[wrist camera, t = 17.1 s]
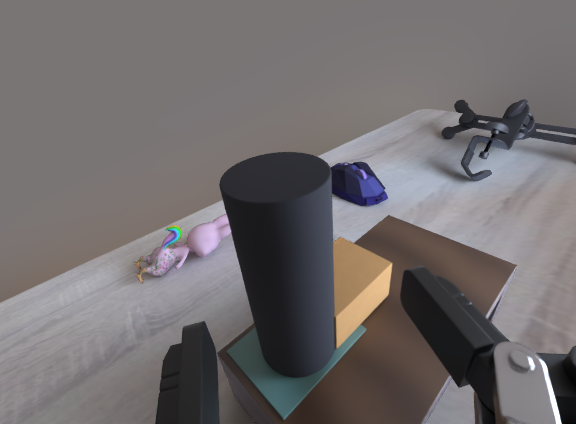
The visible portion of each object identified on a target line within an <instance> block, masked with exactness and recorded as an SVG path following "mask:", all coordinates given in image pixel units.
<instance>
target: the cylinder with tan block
mask: <svg viewBox="0 0 576 424" xmlns="http://www.w3.org/2000/svg"><path fill="white" fill-rule="evenodd" d="M220 190H221V193H222V197H223V202H224V206H225V210H226V213H227V217H228V221H229V225H230V229H231V233H232V237H233V241H234V245H235V249H236V253H237V257H238V261H239V264H240V268H241V272H242V276H243V280H244V284H245V288H246V292H247V296H248V300H249V304H250V308H251V312H252V315H253V319H254V323H255V327H256V331H257V335H258V339H259V343H260V347H261V351H262V355H263V357H264V359H265V361H266V362H267V364H268V365H269V366H270V367H271V368H272V369H273V370H275V371H276V372H278V373H280V374H282V375H284V376H288V377H296V378H298V377H306V376H309V375H312V374H314V373H316V372H318V371H320V370H321V369H322V368H323V367H324V366H326V364H327V363H328V362H329V361H330V359H331V357H332V355H333V353H334V349H337V348H338V347H339V346H340V345H341V344H342V343H343V342H344V341H345V340H346V339H347V338H348V337H349V336H350V335H351V334H352V333H353V332H354V331H355V329H356V328H357V327H358V326H359V325H360V324H361V323H362V322H363V321H364V320H365V319H366V318H367V317H368V316H369V315H370V314H371V313H372V312H373V310H374V309H375V308H376V307H377V306H378V305H379V304H380V303H381V302H382V301H383V300H384V299H385V298H386V297H387V296H388V295H389V287H390V279H391V271H392V262H390V261H388V260H386V259H384V258H382V257H380V256H378V255H376V254H374V253H372V252H370V251H368V250H366V249H364V248H362V247H360V246H358V245H356V244H354V243H352V242H350V241H348V240H346V239H344V238H342V237H339V238H338V239H337V240H335V241H334V242H333V218H332V175H331V168H330V166H329V165H328V164H327V163H326V162H325V161H324V160H322V159H321V158H319V157H316V156H313V155H310V154H305V153H296V152H279V153H271V154H264V155H260V156H256V157H253V158H249V159H247V160H244V161H242V162H240V163H238V164H236V165H234V166H232V167H231V168H230V169H228V170H227V171H226V172H225V173H224V175H223V176H222V177H221V180H220Z"/></svg>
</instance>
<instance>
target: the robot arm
mask: <svg viewBox="0 0 576 424" xmlns="http://www.w3.org/2000/svg"><path fill="white" fill-rule="evenodd" d="M400 300H401V304H402V306H403V308H404V310H405V312H406V313H407V314H408V316H409V317H410V319H411V320H412V322H413V323H414V324H415V326H416V327H417V329H418V330H419V332H420V333H421V334H422V336H423V337H424V339H425V340H426V341H427V343H428V344H429V346H430V347H431V349H432V350H433V351H434V353H435V354H436V356H437V357H438V359H439V360H440V361H441V363H442V364H443V366H444V367H445V369H446V370H447V371H448V373H449V374H450V376H451V377H452V379H453V380H454V381H455V383H456V384H457V386H458V387H462V386H465V385H468V384H470V385H471V387H472V388H473V389H474V391H475V392H474V409H475V424H576V346H574V347H573V348H572V349H571V351H570V352H569V353H568V354H548V353H535V352H534V351H533V350H531V349H530V348H528V347H526V346H524V345H522V344H519V343H516V342H510V341H509V340H508V339H507V338H506V337H505V336H504V335H503V334H502V333H501V332H500V331H499V330H498V329H497V328H496V327H495V326H494V325H493V324H492V323H491V322H490V321H489V320H488V319H487V318H486V317H485V316H484V315H483V314H482V313H481V312H480V311H479V310H478V309H477V307H476V306H475V305H474V304H473V305H472V303H471V301H470V300H469V299H468V298H467V297H466V296H464V295H463V293H462V292H461V291H460V290H459V289H458V288H457V287H456V286H455V285H454V284H453V283H452V282H450V281H449V280H447V279H445V278H443V277H442V276H440V275H439V276H434V275H433V274H432V273H431V272H430V271H429V270H428V269H427V268H426V267H425V266H419V267H415V268H411V269H407V270H405V271H404V272H403V278H402V285H401V291H400ZM155 424H220V421H219V395H218V369H217V355H216V349H215V346H214V343H213V340H212V338H211V335H210V333H209V330H208V328H207V325H206V323H205V322H204V321H203V322H199V323H195V324H191V325H188V326H184V327H183V331H182V343H180V344H176V345H172V346H170V348H169V350H168V352H167V354H166V356H165V358H164V360H163V365H162V374H161V382H160V393H159V398H158V406H157V414H156V422H155Z"/></svg>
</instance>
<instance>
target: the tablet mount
mask: <svg viewBox="0 0 576 424" xmlns="http://www.w3.org/2000/svg"><path fill="white" fill-rule="evenodd" d="M527 102H528V101H527V100H525V99H524V100H521V101H519V102H516V103H513V104H512V105H510V106H509V107H508V109H507V110H506V112H505V114H504V116H503V118H496V117H489V116H482V115H476V114H475V113H474V112H473V111H472V110H471V109H470V108H469V107H468V103H466V102H465V101H464V100H459V101H457V102H456V103H455V105H454V106H455V109H456V111H457V112H458V113H463V114H462V115H461V117H460V119H459V123H460V125H457V126H454V127H446V128H444V129H443V130H442V135H443V137H444V138H445V139H451V138H453V137H454V136H455V133H458V132H461V131H465V130H468V129H471V128H478V129H484V130H490V131H491V134H492V136H491V138H489V137H484V136H479V135H476V136H474V137H473V138H472V140H471V142H470V144H469V146H468V148H467V150H466V152H465V154H464V156H463V158H462V161H461V165H462V167H463V169H464V170H465V172H466V173H467V175H468V176H470V177H471V179H473V180H474V181H479V180H481V179H484V178H486V177H488V176H490V175H491V174H492V172H491V171H490V170H484V171H480V172H478V173H476V174H472V173H471V171H470V170H469V168H468V165H469V163H470V161H471V159H472V156H473V155H474V152H473V151H474V149H475V147H476V145H477V143H479V142H484V143H486V144H487V146H486V148H485V150H484V152H483V151H481V153H480V155H479V157H480V158H482V159H487V157H488V155H489V153H487V152H488V150H489V148H490V146H493V147H498V148H503V149H507V150H509V149H510V148H511V146H512V144H513V142H514V140H522V139H526V138H529V137H531V138H537V139H543V140H549V141H555V142H560V143H566V144H572V145H576V138H574V137H568V136H561V135H555V134H549V133H542V132H536V129H542V130H548V131H555V132H562V133H568V134H575V135H576V129H574V128H567V127H560V126H552V125H545V124H538V123H535V121H534V118H533V115H532V114H531V113H529V106H528V105H527ZM478 120H483V121H489V122H488V123H487V124H485V123H479V122H478Z"/></svg>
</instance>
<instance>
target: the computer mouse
mask: <svg viewBox="0 0 576 424" xmlns="http://www.w3.org/2000/svg"><path fill="white" fill-rule="evenodd" d="M331 175H332V193H333V194H335V195H337V196H339V197H340V198H342V199H345V200H347V201H350V202H353V203H355V204H358V205H360V206H364V205H373V204H378V203H380V202H382V201H384V200H386V199H388V197H387V195H386V192H385V191H384V189H385V187H384V186H383V185H382V183H381V182H380V181H379V179H378V178H377V177H376V175H375V174H374V173H373V171H372V170H371V168H370V167H369V166H368V164H367V163H364V162H354V163H353V164H349V163H338V164H336V165H334V166H333V167H331Z"/></svg>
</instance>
